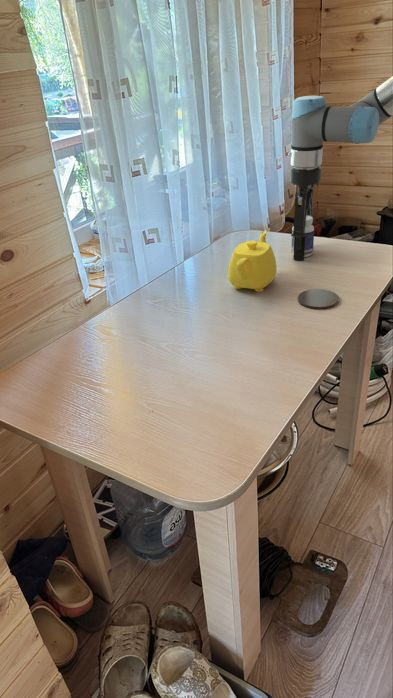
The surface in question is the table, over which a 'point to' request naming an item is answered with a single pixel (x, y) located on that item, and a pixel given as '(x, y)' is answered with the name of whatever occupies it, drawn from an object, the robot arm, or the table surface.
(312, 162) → the robot arm
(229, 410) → the table surface
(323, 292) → the coaster
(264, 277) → the teapot
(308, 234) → the pill bottle
